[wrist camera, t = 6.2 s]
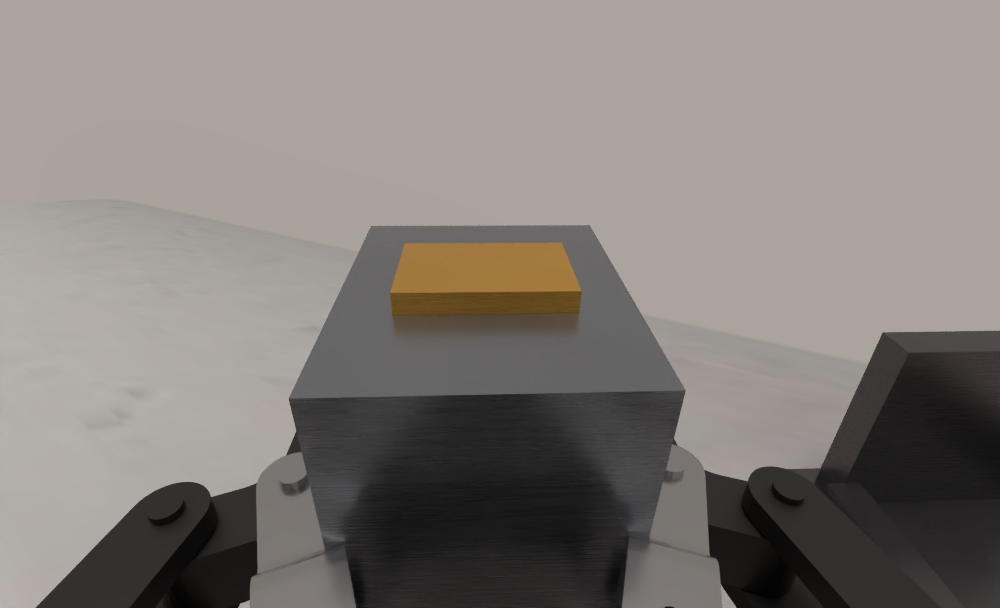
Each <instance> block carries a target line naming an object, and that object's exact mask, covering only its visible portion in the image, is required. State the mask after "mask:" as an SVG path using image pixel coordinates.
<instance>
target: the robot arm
mask: <svg viewBox="0 0 1000 608" xmlns="http://www.w3.org/2000/svg"><path fill="white" fill-rule="evenodd" d="M721 585H722V587H723V588H724V590H725V591H726V593H727V594H728V596H729V597H730V598H731V600H732V601H733V603H734V604H735V606H736V607H737V608H941V607H940V606H939V605H938V604H937V603H936V602H935V601H934V600H933V599H932V598H931V597H930V596H929V595H928V594H927V593H926V592H925V591H924V590H922V589H921V588H920V587H919V586H918V585H917V584H916V583H915V582H914V581H913V580H912V579H911V578H910V577H909V576H908V575H907V574H906V573H905V572H904V571H903V570H902V569H901V568H900V567H899V566H898V565H897V564H896V563H895V562H894V561H892V560H891V559H890V558H889V557H888V556H887V555H886V554H885V553H884V552H883V551H882V550H881V549H880V548H879V547H878V546H877V545H876V544H875V543H874V542H873V541H872V540H871V539H870V538H869V537H868V536H867V535H866V534H865V533H864V532H862V531H861V530H860V529H859V528H858V527H857V526H856V525H855V524H854V523H853V522H852V521H851V520H850V519H849V518H848V517H847V516H846V515H845V514H844V513H843V512H842V511H841V510H840V509H839V508H838V507H837V506H836V505H835V504H834V503H832V502H831V501H830V500H829V499H828V498H827V497H826V496H825V495H824V494H823V493H822V492H821V491H820V490H819V489H818V488H817V487H816V486H815V485H814V484H813V483H811V482H810V481H809V480H807V479H806V478H804V477H803V476H801V475H799V474H797V473H795V472H793V471H790V470H787V469H784V468H780V467H762V468H759V469H757V470H755V471H753V473H752V474H751V475H750V477H749V480H748V481H743V480H739V479H734V478H730V477H725V476H721V475H717V474H714V473H711V472H708V471H706V470H704V468H703V466H702V464H701V463H700V461H699V460H698V459H697V458H696V457H695V456H694V455H693V454H691V453H690V452H689V451H687V450H685V449H683V448H681V447H679V446H677V444H676V442H675V440H674V439H673V443H672V447H671V451H670V455H669V459H668V464H667V468H666V472H665V476H664V480H663V484H662V488H661V492H660V496H659V500H658V504H657V508H656V512H655V516H654V520H653V524H652V528H651V531H627V535H626V540H625V545H624V549H623V556H622V563H621V569H620V574H619V579H618V584H617V588H616V593H615V598H614V602H613V604H612V606H611V608H722V597H721ZM248 600H250V608H358V606H357V601H356V596H355V591H354V586H353V582H352V577H351V571H350V566H349V561H348V556H347V551H346V547H345V542H344V541H339V542H323V539H322V535H321V531H320V527H319V522H318V518H317V514H316V510H315V506H314V502H313V497H312V493H311V489H310V485H309V481H308V477H307V472H306V468H305V464H304V460H303V456H302V452H301V447H300V443H299V439H298V435H297V431H296V433H295V436H294V438H293V441H292V443H291V445H290V448H289V450H288V452H287V455H286V456H284V457H282V458H280V459H278V460H276V461H275V462H273V463H272V464H271V465H269V466H268V467H267V468H266V469H265V470H264V471H263V473H262V474H261V475H260V477H259V479H258V482H257V483H256V484H254V485H251V486H249V487H246V488H243V489H239V490H235V491H232V492H228V493H225V494H221V495H218V496H214V497H211V496H210V493H209V491H208V490H207V489H206V488H205V487H204V486H203V485H201V484H198V483H194V482H181V483H175V484H172V485H168V486H165V487H163V488H160V489H158V490H156V491H154V492H152V493H151V494H149V495H148V496H146V497H145V498H143V499H142V500H141V501H140V502H138V503H137V504H136V505H135V506H134V507H133V508H132V509H131V510H130V511H129V512H128V513H127V514H126V515H125V516H124V518H123V519H122V520H121V521H120V522H119V523H118V524H117V525H116V526H115V527H114V528H113V529H112V530H111V531H110V532H109V533H108V534H107V535H106V536H105V537H104V538H103V539H102V540H101V541H100V542H99V543H98V544H97V545H96V546H95V547H94V548H93V549H92V550H91V551H90V552H89V553H88V555H87V556H86V557H85V558H84V559H83V560H82V561H81V562H80V563H79V564H78V565H77V566H76V567H75V568H74V569H73V570H72V571H71V572H70V573H69V574H68V575H67V576H66V577H65V578H64V579H63V580H62V581H61V582H60V583H59V584H58V585H57V586H56V587H55V588H54V589H53V590H52V592H51V593H50V594H49V595H48V596H47V597H46V598H45V599H44V600H43V601H42V602H41V603H40V604H39V605H38V606H37V607H36V608H238V607H239V605H240V603H243V602H246V601H248Z"/></svg>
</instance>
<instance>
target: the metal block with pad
mask: <svg viewBox="0 0 1000 608" xmlns="http://www.w3.org/2000/svg"><path fill="white" fill-rule="evenodd" d="M685 391H686V390H685V389H684V387H683V385H682V383H681V382H680V380H679V378H678V377H677V375H676V373H675V371H674V370H673V368H672V366H671V365H670V363H669V361H668V359H667V358H666V356H665V354H664V353H663V351H662V349H661V347H660V346H659V344H658V342H657V340H656V339H655V337H654V335H653V334H652V332H651V330H650V328H649V327H648V325H647V323H646V322H645V320H644V318H643V316H642V315H641V313H640V311H639V310H638V308H637V306H636V304H635V303H634V301H633V299H632V297H631V296H630V294H629V292H628V291H627V289H626V287H625V285H624V284H623V282H622V280H621V279H620V277H619V275H618V273H617V272H616V270H615V268H614V266H613V265H612V263H611V261H610V260H609V258H608V256H607V254H606V253H605V251H604V249H603V248H602V246H601V244H600V242H599V241H598V239H597V237H596V236H595V234H594V232H593V230H592V229H591V227H590V226H589V225H587V226H585V225H584V226H371V228H370V230H369V232H368V234H367V237H366V238H365V240H364V243H363V245H362V247H361V249H360V251H359V253H358V255H357V257H356V259H355V261H354V263H353V265H352V268H351V270H350V272H349V274H348V276H347V278H346V280H345V282H344V284H343V286H342V288H341V291H340V293H339V295H338V297H337V299H336V301H335V303H334V305H333V307H332V309H331V311H330V314H329V316H328V318H327V320H326V322H325V324H324V326H323V328H322V330H321V332H320V334H319V336H318V339H317V341H316V343H315V345H314V347H313V349H312V351H311V353H310V355H309V357H308V359H307V362H306V364H305V366H304V368H303V370H302V372H301V374H300V376H299V378H298V380H297V382H296V385H295V387H294V389H293V391H292V393H291V395H290V397H289V402H290V406H291V410H292V414H293V418H294V422H295V427H296V431H297V435H298V439H299V443H300V447H301V452H302V456H303V460H304V464H305V468H306V472H307V477H308V481H309V485H310V489H311V493H312V497H313V502H314V506H315V510H316V514H317V518H318V522H319V527H320V531H321V535H322V539H323V542H339V541H344V542H345V547H346V551H347V556H348V561H349V566H350V571H351V577H352V582H353V586H354V591H355V596H356V601H357V606H358V608H611V606H612V604H613V602H614V598H615V593H616V588H617V584H618V579H619V574H620V569H621V563H622V556H623V549H624V545H625V540H626V535H627V531H651V528H652V524H653V520H654V516H655V512H656V508H657V504H658V500H659V496H660V492H661V488H662V484H663V480H664V476H665V472H666V468H667V464H668V459H669V455H670V451H671V447H672V443H673V439H674V435H675V431H676V427H677V423H678V419H679V415H680V411H681V407H682V403H683V399H684V395H685Z"/></svg>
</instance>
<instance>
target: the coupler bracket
mask: <svg viewBox="0 0 1000 608" xmlns="http://www.w3.org/2000/svg"><path fill="white" fill-rule="evenodd" d="M787 470H790V471H793V472H795V473H797V474H799V475H801V476H803V477H804V478H806V479H807V480H809V481H810V482H811V483H813V484H814V485H815V486H816V487H817V488H818V489H819V490H820V491H821V492H822V493H823V494H824V495H825V496H826V497H827V498H828V499H829V500H830V501H831V502H832V503H834V504H835V505H836V506H837V507H838V508H839V509H840V510H841V511H842V512H843V513H844V514H845V515H846V516H847V517H848V518H849V519H850V520H851V521H852V522H853V523H854V524H855V525H856V526H857V527H858V528H859V529H860V530H861V531H862V532H864V533H865V534H866V535H867V536H868V537H869V538H870V539H871V540H872V541H873V542H874V543H875V544H876V545H877V546H878V547H879V548H880V549H881V550H882V551H883V552H884V553H885V554H886V555H887V556H888V557H889V558H890V559H891V560H892V561H894V562H895V563H896V564H897V565H898V566H899V567H900V568H901V569H902V570H903V571H904V572H905V573H906V574H907V575H908V576H909V577H910V578H911V579H912V580H913V581H914V582H915V583H916V584H917V585H918V586H919V587H920V588H921V589H922V590H924V591H925V592H926V593H927V594H928V595H929V596H930V597H931V598H932V599H933V600H934V601H935V602H936V603H937V604H938V605H939V606H940V607H941V608H1000V331H960V332H959V331H958V332H893V333H892V332H891V333H890V332H889V333H882V336H881V338H880V340H879V342H878V344H877V346H876V349H875V351H874V353H873V355H872V357H871V360H870V362H869V364H868V366H867V368H866V370H865V373H864V375H863V377H862V379H861V381H860V384H859V386H858V388H857V390H856V392H855V395H854V397H853V399H852V401H851V403H850V405H849V408H848V410H847V412H846V414H845V416H844V419H843V421H842V423H841V425H840V427H839V430H838V432H837V434H836V436H835V438H834V440H833V443H832V445H831V447H830V449H829V451H828V454H827V456H826V458H825V460H824V462H823V465H822V467H821V468H818V469H787Z"/></svg>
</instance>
